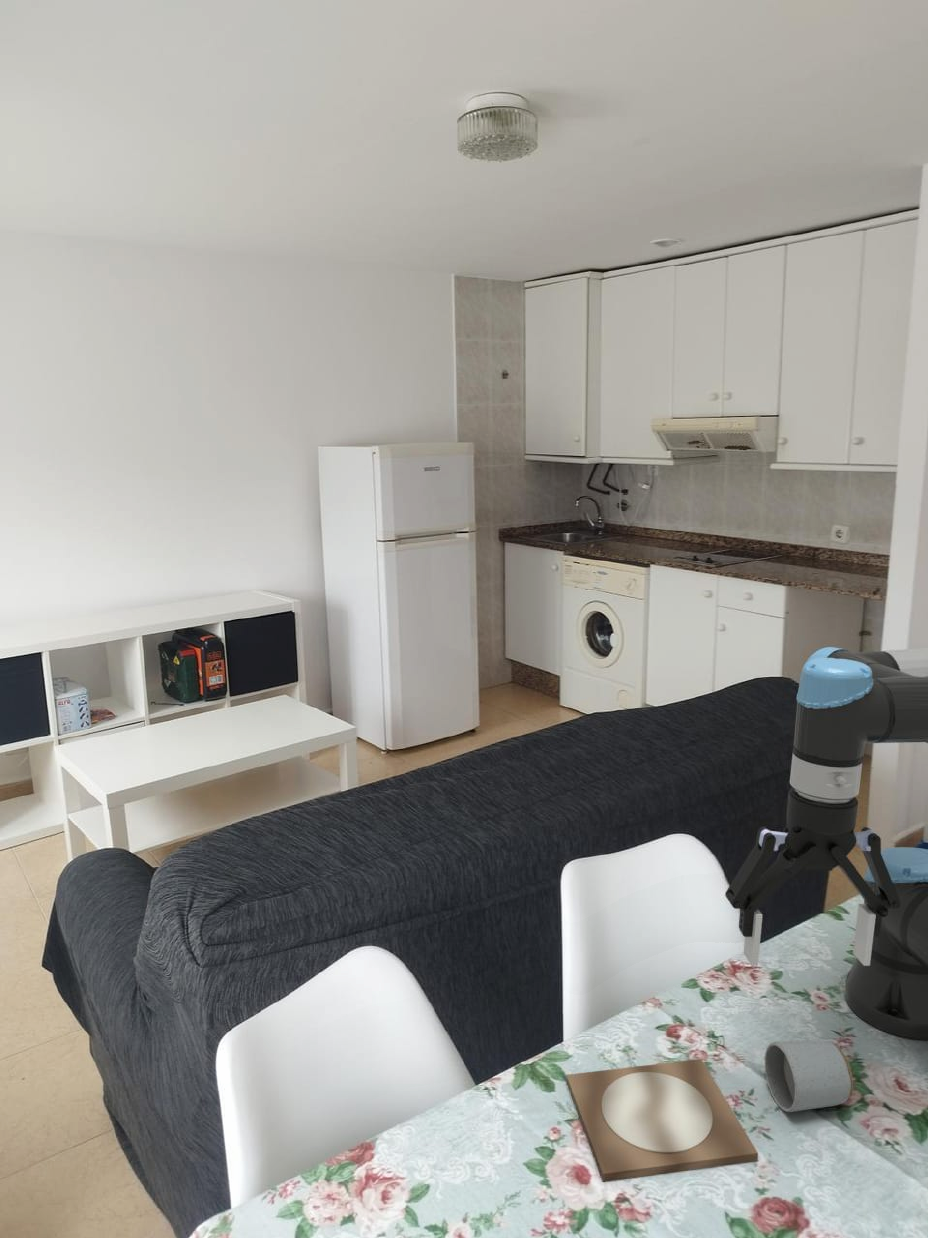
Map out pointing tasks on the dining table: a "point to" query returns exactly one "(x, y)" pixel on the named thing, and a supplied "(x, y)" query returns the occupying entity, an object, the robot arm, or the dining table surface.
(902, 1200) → the dining table surface
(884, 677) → the robot arm
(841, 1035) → the dining table surface
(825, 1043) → the ceramic mug
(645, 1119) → the board
